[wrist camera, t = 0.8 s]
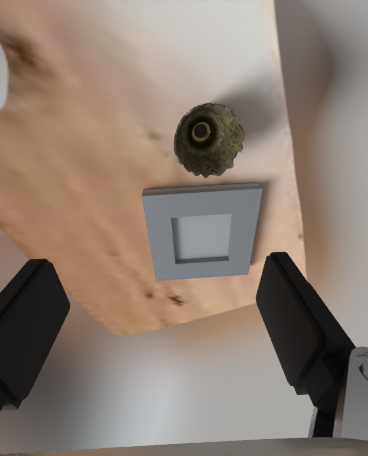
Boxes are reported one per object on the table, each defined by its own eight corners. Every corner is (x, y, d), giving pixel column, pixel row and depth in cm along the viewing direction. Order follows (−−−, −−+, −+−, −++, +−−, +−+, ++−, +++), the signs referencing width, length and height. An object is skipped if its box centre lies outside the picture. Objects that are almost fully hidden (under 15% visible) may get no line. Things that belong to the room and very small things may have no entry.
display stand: (143, 189, 33) (141, 196, 31) (257, 182, 34) (262, 188, 32) (156, 271, 43) (156, 280, 41) (244, 265, 44) (248, 274, 42)
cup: (189, 87, 26) (195, 86, 20) (238, 117, 28) (258, 126, 22) (164, 144, 30) (162, 160, 23) (209, 166, 32) (219, 188, 25)
